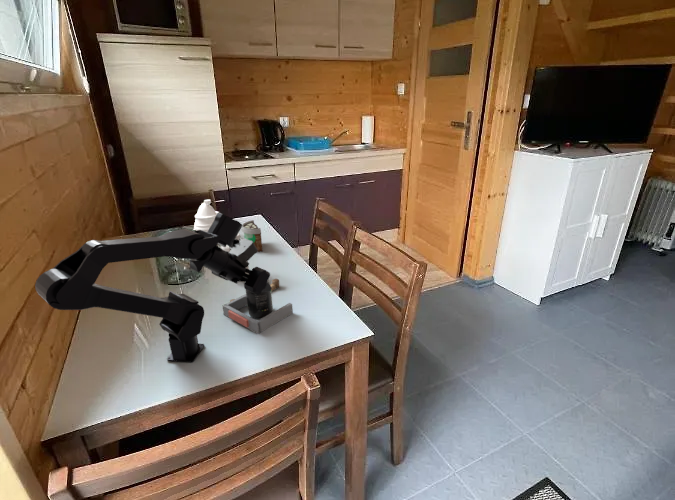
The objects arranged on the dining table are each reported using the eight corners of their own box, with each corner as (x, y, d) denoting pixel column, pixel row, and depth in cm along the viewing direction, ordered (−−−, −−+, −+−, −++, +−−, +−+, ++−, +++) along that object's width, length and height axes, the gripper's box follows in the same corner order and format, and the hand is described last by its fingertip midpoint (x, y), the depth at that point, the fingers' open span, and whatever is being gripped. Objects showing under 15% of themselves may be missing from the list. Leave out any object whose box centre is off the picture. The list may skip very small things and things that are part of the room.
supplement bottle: (277, 307, 109) (273, 270, 104) (266, 320, 103) (262, 281, 98) (255, 305, 110) (250, 268, 106) (244, 317, 104) (238, 278, 100)
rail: (233, 310, 108) (232, 303, 107) (229, 308, 109) (228, 301, 108) (281, 286, 120) (280, 280, 120) (276, 284, 122) (275, 278, 121)
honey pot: (232, 238, 163) (226, 197, 156) (209, 248, 153) (201, 205, 146) (212, 233, 169) (206, 194, 163) (188, 242, 159) (180, 201, 153)
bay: (256, 334, 97) (254, 325, 95) (221, 315, 106) (220, 306, 104) (292, 313, 106) (292, 303, 105) (258, 297, 115) (257, 288, 114)
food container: (241, 245, 155) (238, 222, 152) (255, 242, 158) (253, 219, 154) (247, 255, 145) (244, 231, 141) (263, 252, 147) (260, 228, 144)
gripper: (260, 241, 88) (296, 267, 100) (214, 226, 99) (252, 251, 111) (236, 283, 85) (277, 305, 97) (192, 263, 97) (233, 285, 109)
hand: (259, 284), depth 104 cm, fingers open, 9 cm apart
